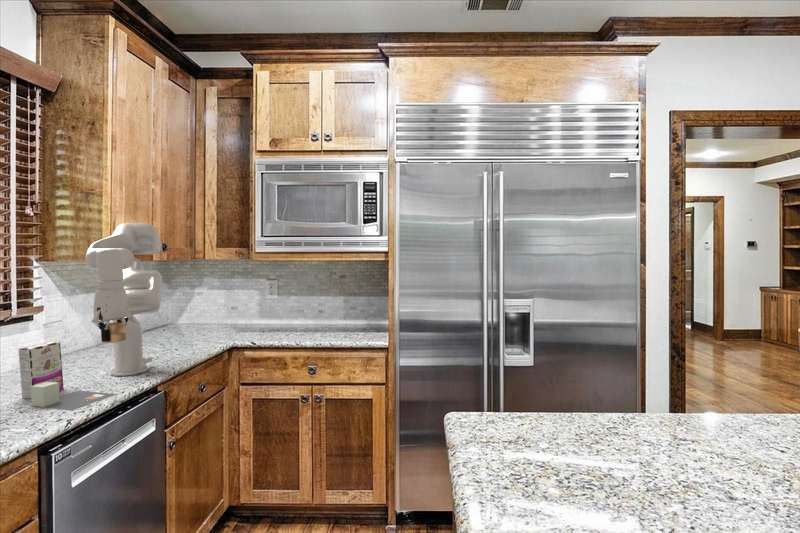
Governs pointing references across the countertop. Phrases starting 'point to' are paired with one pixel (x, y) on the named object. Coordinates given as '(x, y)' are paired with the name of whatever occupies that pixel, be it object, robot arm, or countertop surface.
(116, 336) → the oak block
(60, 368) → the candy bar box
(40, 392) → the sage block
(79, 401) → the mat
